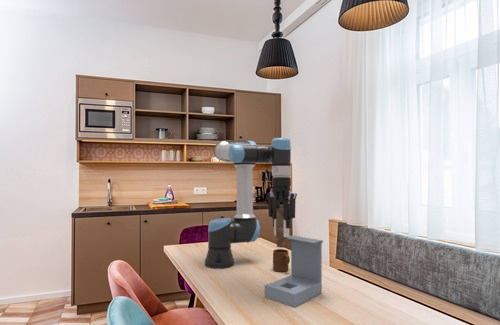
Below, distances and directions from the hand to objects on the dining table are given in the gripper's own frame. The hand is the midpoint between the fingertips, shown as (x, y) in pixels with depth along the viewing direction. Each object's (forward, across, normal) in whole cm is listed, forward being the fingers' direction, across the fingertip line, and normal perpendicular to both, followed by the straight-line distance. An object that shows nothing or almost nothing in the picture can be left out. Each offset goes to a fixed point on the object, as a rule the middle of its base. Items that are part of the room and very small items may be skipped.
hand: (281, 235), depth 134 cm
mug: (+22, -18, +24) cm, 38 cm away
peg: (+4, 0, 0) cm, 4 cm away
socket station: (+23, +4, +2) cm, 23 cm away
